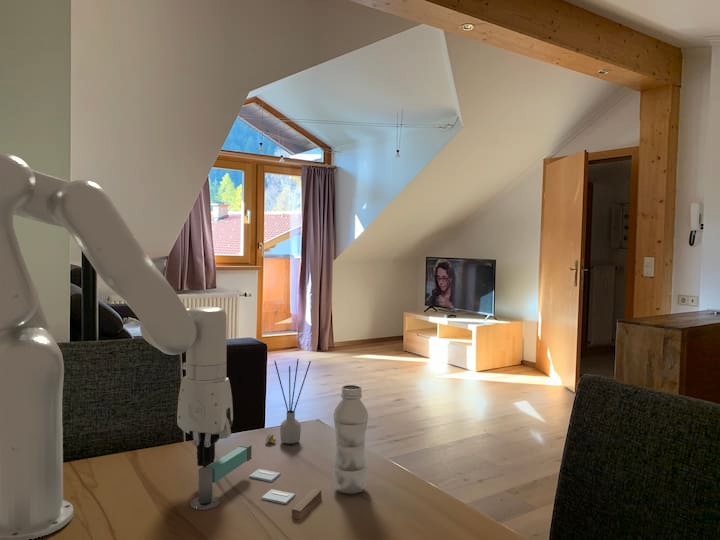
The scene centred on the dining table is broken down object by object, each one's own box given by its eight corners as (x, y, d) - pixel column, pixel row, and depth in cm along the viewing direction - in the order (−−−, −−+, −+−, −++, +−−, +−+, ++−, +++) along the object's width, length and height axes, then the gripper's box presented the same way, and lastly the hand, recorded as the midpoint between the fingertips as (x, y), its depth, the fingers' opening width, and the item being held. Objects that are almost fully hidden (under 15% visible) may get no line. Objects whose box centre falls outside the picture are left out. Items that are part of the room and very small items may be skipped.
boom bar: (206, 504, 97) (207, 473, 97) (195, 502, 98) (195, 470, 97) (252, 471, 111) (252, 444, 110) (241, 469, 112) (242, 442, 111)
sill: (291, 517, 94) (292, 509, 94) (313, 496, 102) (313, 488, 102) (300, 519, 93) (300, 511, 93) (321, 498, 101) (321, 490, 101)
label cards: (229, 492, 103) (229, 489, 103) (258, 470, 113) (258, 468, 113) (285, 504, 99) (285, 501, 99) (311, 480, 108) (311, 478, 108)
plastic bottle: (363, 500, 101) (366, 393, 100) (328, 496, 102) (330, 390, 101) (370, 485, 107) (372, 384, 106) (336, 481, 109) (338, 381, 107)
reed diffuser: (308, 438, 132) (310, 356, 130) (310, 449, 125) (311, 362, 124) (265, 439, 130) (266, 356, 129) (264, 450, 123) (266, 363, 122)
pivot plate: (184, 506, 97) (184, 505, 97) (202, 494, 102) (202, 493, 102) (208, 512, 95) (208, 511, 95) (226, 499, 100) (226, 498, 100)
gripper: (161, 371, 105) (161, 465, 106) (228, 379, 100) (227, 478, 101) (186, 363, 112) (186, 451, 113) (250, 370, 107) (249, 463, 108)
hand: (205, 463), depth 107 cm, fingers closed
